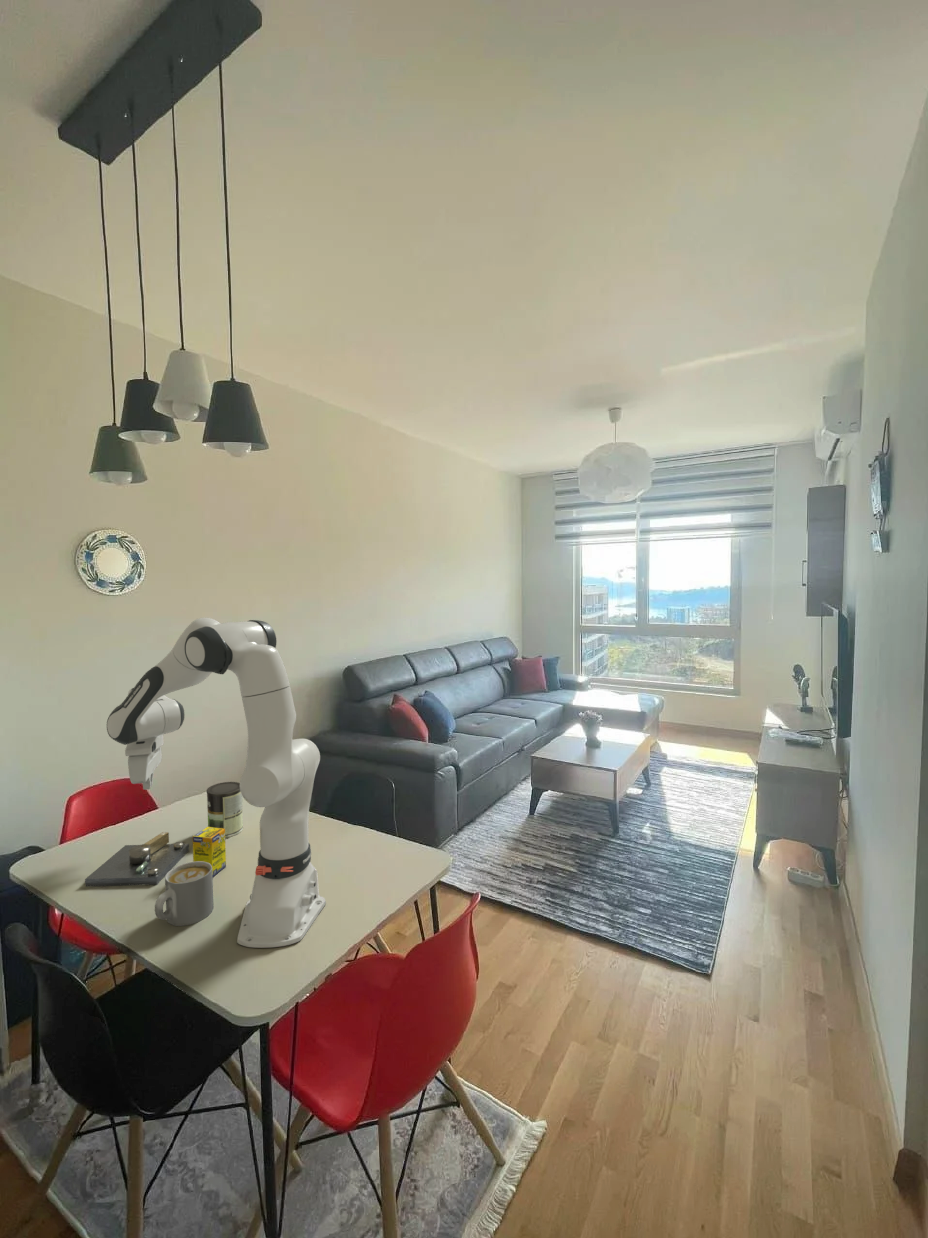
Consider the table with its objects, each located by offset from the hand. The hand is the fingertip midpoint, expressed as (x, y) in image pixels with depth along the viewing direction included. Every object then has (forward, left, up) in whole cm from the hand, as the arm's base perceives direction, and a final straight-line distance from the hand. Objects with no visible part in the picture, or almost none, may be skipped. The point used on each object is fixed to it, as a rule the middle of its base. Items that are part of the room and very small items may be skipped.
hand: (148, 787), depth 156 cm
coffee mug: (-32, -24, -19) cm, 44 cm away
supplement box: (-12, -22, -19) cm, 31 cm away
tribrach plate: (-9, -2, -19) cm, 21 cm away
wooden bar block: (-5, -3, -17) cm, 18 cm away
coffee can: (+12, -17, -19) cm, 28 cm away
